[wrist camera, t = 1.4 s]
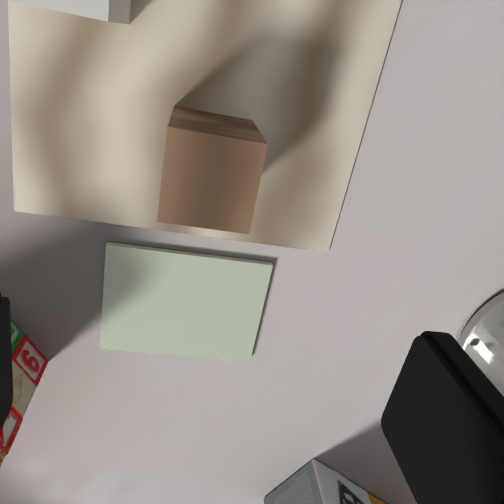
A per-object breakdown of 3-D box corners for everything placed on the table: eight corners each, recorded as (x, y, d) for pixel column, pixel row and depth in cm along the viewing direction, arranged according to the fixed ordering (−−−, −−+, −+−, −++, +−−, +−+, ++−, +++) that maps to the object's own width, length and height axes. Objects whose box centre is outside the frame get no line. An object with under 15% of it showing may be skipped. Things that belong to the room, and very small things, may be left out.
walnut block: (252, 120, 29) (267, 144, 22) (238, 193, 31) (249, 234, 25) (173, 105, 28) (167, 126, 22) (165, 182, 30) (156, 221, 24)
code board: (418, -61, 26) (420, -62, 25) (327, 251, 34) (328, 252, 34) (4, -176, 22) (2, -178, 21) (15, 209, 30) (14, 211, 30)
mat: (272, 262, 34) (272, 265, 33) (249, 357, 37) (250, 361, 37) (107, 241, 32) (105, 244, 31) (100, 344, 35) (99, 348, 35)
